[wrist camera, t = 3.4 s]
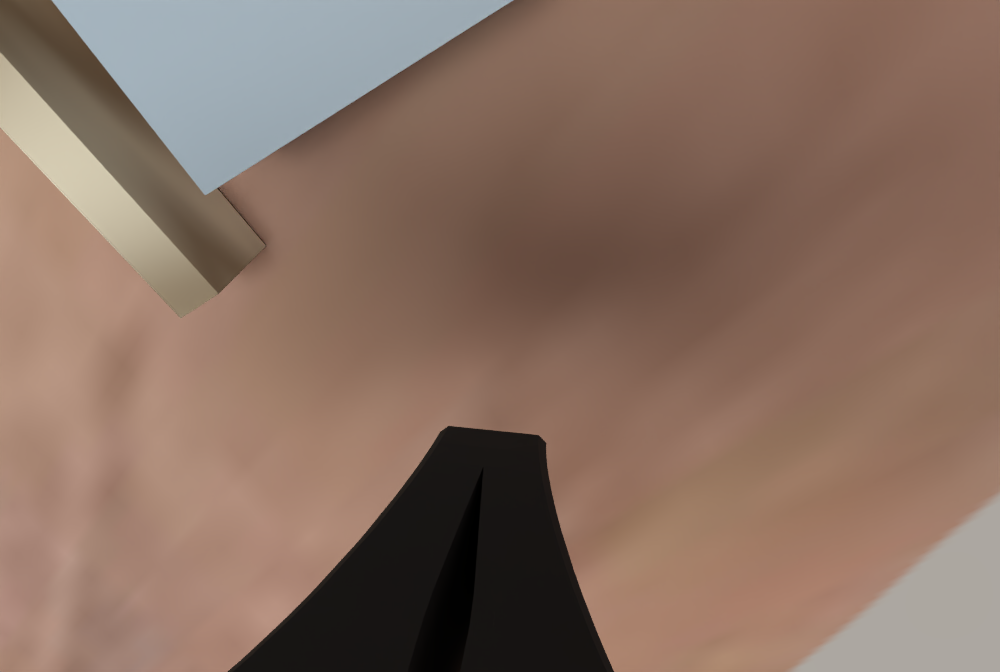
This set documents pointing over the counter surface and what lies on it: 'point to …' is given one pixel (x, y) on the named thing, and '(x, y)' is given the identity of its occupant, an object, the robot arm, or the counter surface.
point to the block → (256, 65)
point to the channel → (114, 160)
